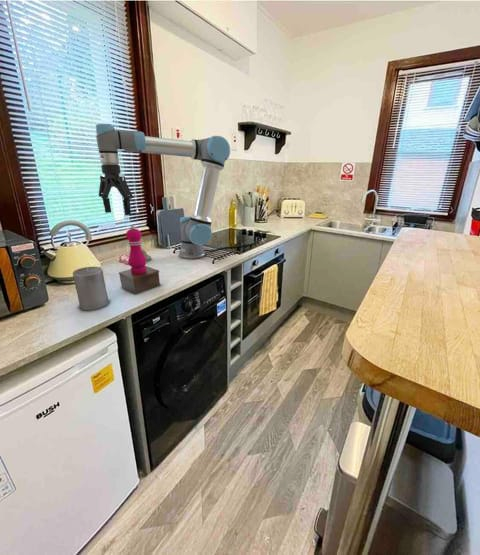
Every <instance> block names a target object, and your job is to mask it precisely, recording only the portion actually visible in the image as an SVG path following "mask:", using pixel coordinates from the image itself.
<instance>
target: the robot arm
mask: <svg viewBox="0 0 480 555" xmlns="http://www.w3.org/2000/svg"><path fill="white" fill-rule="evenodd" d="M94 131H95V138H96V143H97V149H98V154H99V161H100V164H101V165H100V167H101V168H100V169H101V173H102V174H103V175H100V176H99V182H100V183H99V188H98V189H99V190H98V197H100V198H101V199H102V203H103V204H102V205H103V206H104V207H103V208H104V212H105V214H108V213H112V207H111V202H110V197H109V195H110V192H111V189H112V188H116V189H117V191H118V193H119V194H120V196H121V197H122V203H123V209H124V216H129V215H130V216H132V210H131V199H133V198H134V196H133V194H132V191H131V189H130V186H129V185H128V183H127V180H126V179H127V178H126V176H124V175H120V174H121V173H122V170H121V166H120V157H119V152H118V150H120V151H121V150H123V151H125V152H127V153H143V154H151V155H152V154H154V155H162V156H163V155H165V156H174V157H186V158H190V159H191V160H195V161H201V162H200V164H201V165H202V171H201V176H200V180H199V185H198V191H197V195H196V200H195V206H194V209H193V213H192V214H191V215H190V216H182V217H180V219H179V228H180V240H181V243H180V244H181V245H180V250H179V254H178V255H179V257H180V258H181V259H184V260H195V259H201V258H203V257H205V256H206V252H209V253H213V252H217V251H219V250H225V249H226V250H227V249H233V248H242V247H249V246H252V245H255V244H260V241H258V240H256V241H254V242H251V243H247V244H240V245H231V246H223V247H218V248H215V249H205V248H204V245H206V244H207V243H209V242H210V241H211V239H212V237H213V231H212V228H211V227H212V222H213V220H212V219H211V213H212V208H213V204H214V199H215V194H216V191H217V186H218V181H219V177H220V173H221V171H222V170H224V168H225V163H226V162H227V160H228V159H229V158H230V155H231V146H230V143H229V141H228V140H227V139H226V137H223V136H221V135H212V136H210V137H207V138H202V139H201V138H200V139H195V138H194V139H191V140H184V139H173V138H166V137H157V136H148V135H145V133H144V131H137V130H119V129H116V127H115V125H114V124H112V123H105V122H104V123H103V122H102V123H101V122H100V123H96V124H95V125H94Z"/></svg>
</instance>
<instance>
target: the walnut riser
mask: <svg viewBox="0 0 480 555" xmlns="http://www.w3.org/2000/svg"><path fill="white" fill-rule="evenodd" d="M145 266H146V272H144V273H141V274H133V273H131V268H129V269H126V270H122V271H119V272H118V275H119V280H120V285H121V288H122V289H124V290H126V291H128V292H130V293H132V294H134V295H137V294H141V293H143V292H146V291H148V290H151V289H152V290H153V289H154V288H157V287H160V286H161V282H160V270H158V269H156V268H154V267H150V266H147V265H145Z"/></svg>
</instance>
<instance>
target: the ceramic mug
mask: <svg viewBox="0 0 480 555" xmlns="http://www.w3.org/2000/svg"><path fill="white" fill-rule="evenodd" d="M141 250H142V252H143V254H144V256H145V258H146V260H151V259H152V256H151V255H149V254H147V252H146V251H145V249H143V248H141ZM130 251H131V250H130V249H129V251H128V255H129V256H130ZM129 256H128V257H129Z"/></svg>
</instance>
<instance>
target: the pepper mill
mask: <svg viewBox="0 0 480 555" xmlns="http://www.w3.org/2000/svg"><path fill="white" fill-rule="evenodd" d="M142 237H143V234H142V232H141V230H140V229H138V228H136V226H135V225H134V224H131V225H130V229H128V230H127V231H126V233H125V238H126V240H128V241H127V242H128V245H129V248H130V249H129V251H130V250H131V251H130V256H128V260H127V262H128V266H129V267H130V269H131V273H133V274H141V273H144V272H146V266H147V259H146V258H145V256H144V254H143V252H142V250H141V249H142V246H141V245H142V240H141V239H142Z"/></svg>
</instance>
